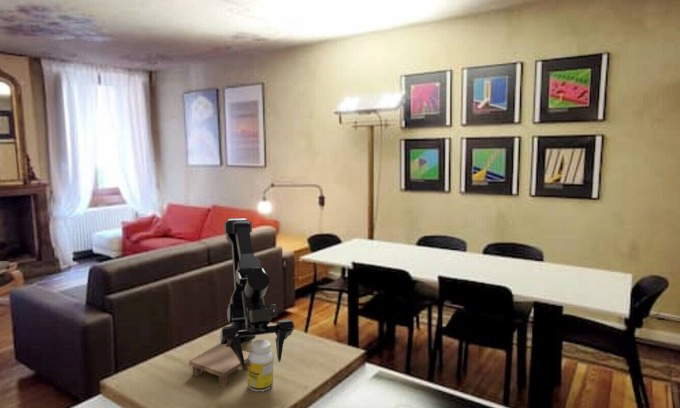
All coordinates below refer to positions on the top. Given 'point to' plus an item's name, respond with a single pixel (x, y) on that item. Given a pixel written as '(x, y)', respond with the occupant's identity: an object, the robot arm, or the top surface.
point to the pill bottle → (260, 366)
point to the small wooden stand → (218, 362)
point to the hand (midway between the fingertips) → (261, 364)
